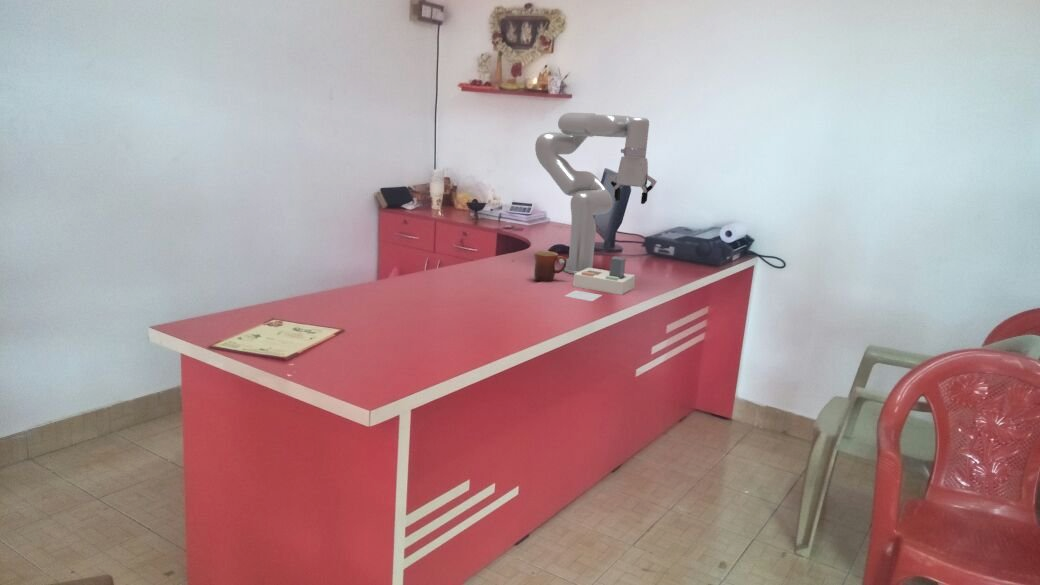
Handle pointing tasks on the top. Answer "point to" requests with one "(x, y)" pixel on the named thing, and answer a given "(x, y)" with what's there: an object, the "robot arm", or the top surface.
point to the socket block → (603, 281)
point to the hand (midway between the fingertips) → (630, 201)
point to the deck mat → (583, 295)
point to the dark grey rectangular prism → (617, 267)
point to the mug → (546, 265)
